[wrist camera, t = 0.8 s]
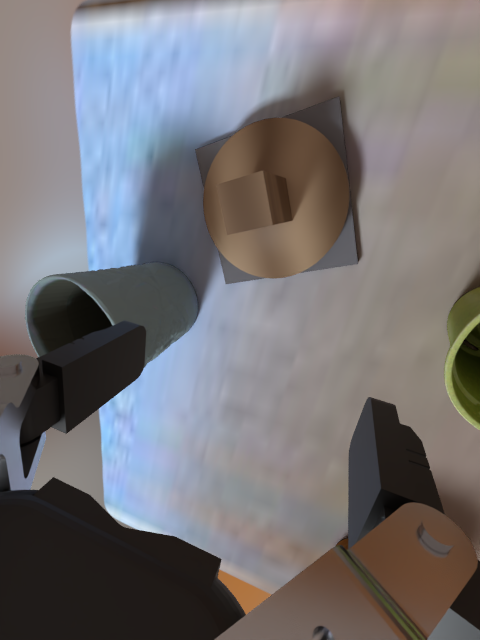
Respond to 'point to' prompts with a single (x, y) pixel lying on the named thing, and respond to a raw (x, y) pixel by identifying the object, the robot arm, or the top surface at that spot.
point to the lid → (276, 198)
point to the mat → (330, 125)
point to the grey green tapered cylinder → (111, 305)
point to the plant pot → (464, 357)
